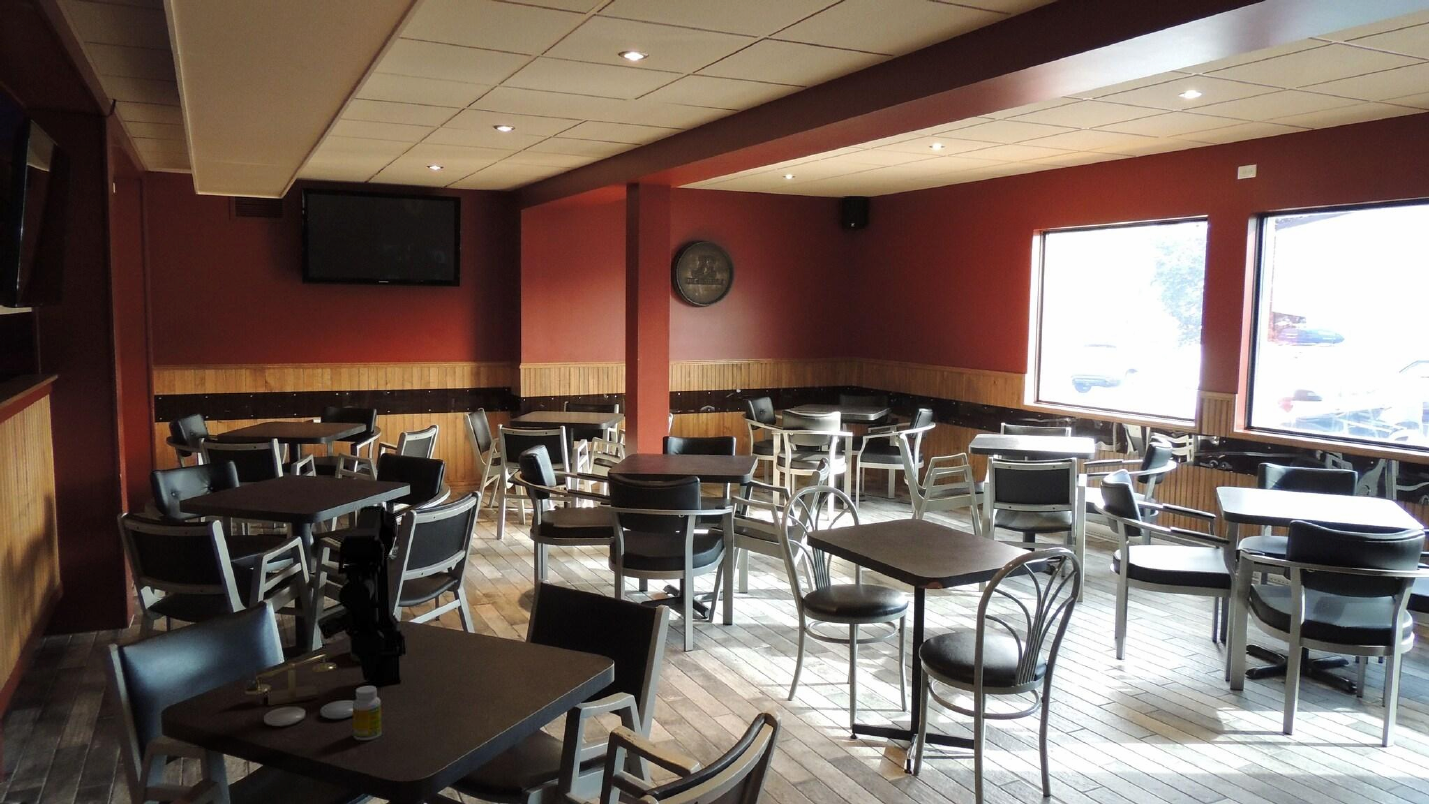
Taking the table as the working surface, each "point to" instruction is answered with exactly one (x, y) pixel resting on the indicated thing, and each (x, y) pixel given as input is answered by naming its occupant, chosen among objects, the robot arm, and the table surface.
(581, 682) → the table surface
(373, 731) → the supplement bottle
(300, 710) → the dish
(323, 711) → the dish
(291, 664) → the balance
